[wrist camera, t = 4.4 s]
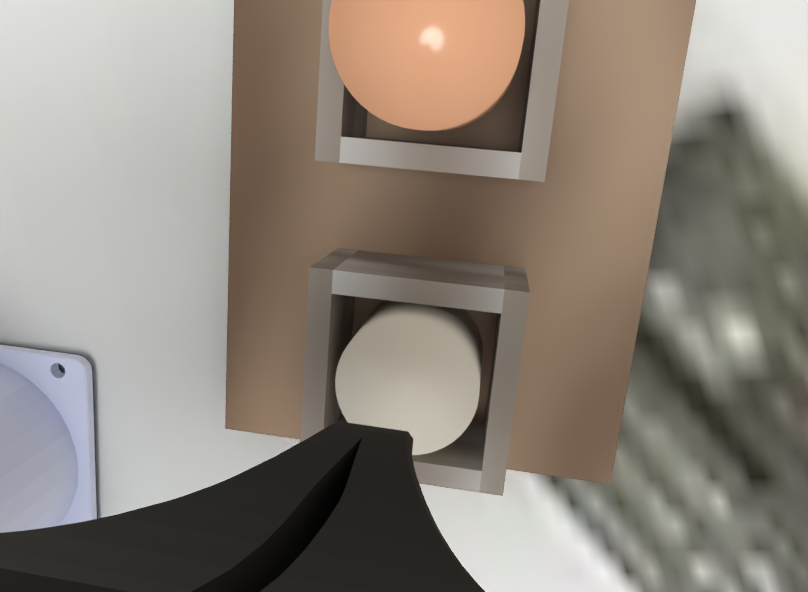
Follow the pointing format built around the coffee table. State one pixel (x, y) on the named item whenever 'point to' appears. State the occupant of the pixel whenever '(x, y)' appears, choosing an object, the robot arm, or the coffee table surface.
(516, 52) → the plug terracotta
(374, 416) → the plug cream
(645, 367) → the coffee table surface
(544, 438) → the panel
